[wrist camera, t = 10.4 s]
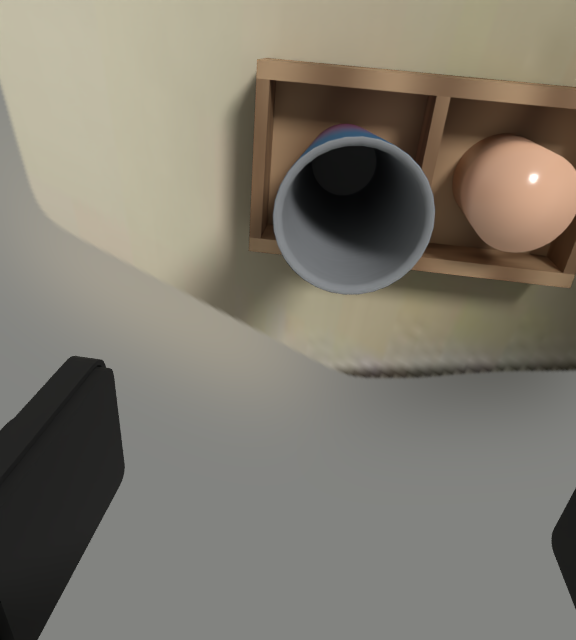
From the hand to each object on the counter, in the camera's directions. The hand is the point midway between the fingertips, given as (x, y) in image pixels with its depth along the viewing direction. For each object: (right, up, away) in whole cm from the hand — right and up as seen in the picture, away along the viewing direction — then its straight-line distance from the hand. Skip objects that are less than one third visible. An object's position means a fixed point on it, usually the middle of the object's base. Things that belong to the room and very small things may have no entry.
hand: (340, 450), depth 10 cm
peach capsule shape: (+13, +12, +24) cm, 30 cm away
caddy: (+8, +13, +25) cm, 29 cm away
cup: (+3, +14, +25) cm, 28 cm away
